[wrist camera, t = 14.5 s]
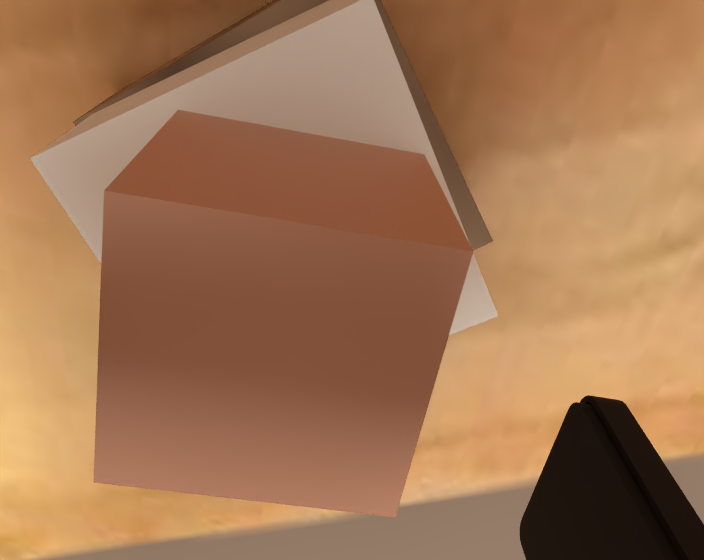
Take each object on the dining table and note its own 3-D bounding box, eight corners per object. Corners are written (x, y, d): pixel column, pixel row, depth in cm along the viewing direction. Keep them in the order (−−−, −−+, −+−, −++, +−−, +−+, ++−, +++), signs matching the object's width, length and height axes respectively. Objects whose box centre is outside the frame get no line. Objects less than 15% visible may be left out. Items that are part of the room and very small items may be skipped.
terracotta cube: (424, 154, 17) (473, 251, 11) (374, 358, 19) (395, 517, 14) (177, 109, 16) (103, 190, 10) (160, 327, 18) (93, 482, 13)
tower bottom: (352, -46, 24) (359, -45, 19) (465, 194, 28) (492, 241, 23) (117, 91, 25) (72, 122, 21) (256, 298, 29) (243, 360, 25)
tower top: (360, -15, 19) (371, -6, 15) (463, 245, 23) (498, 315, 19) (92, 113, 21) (29, 158, 16) (231, 341, 24) (211, 428, 20)
